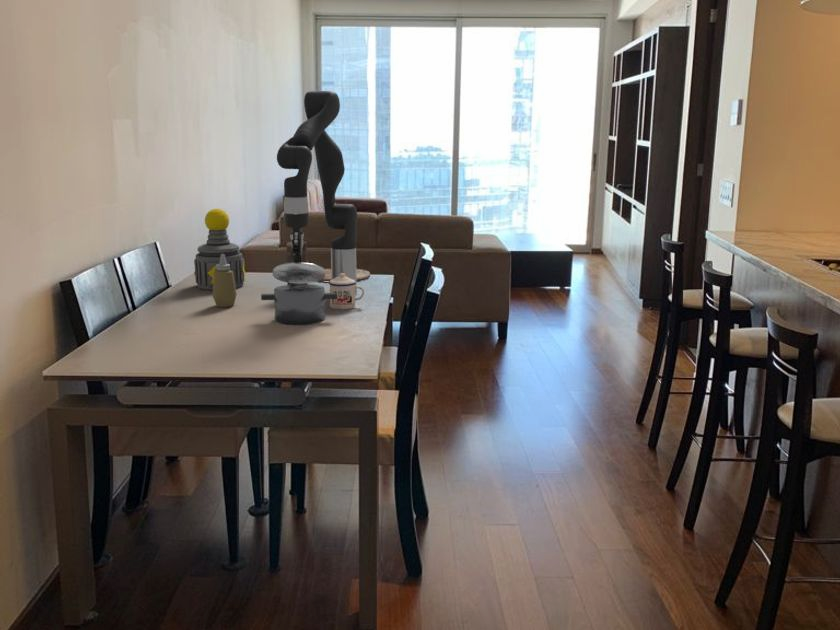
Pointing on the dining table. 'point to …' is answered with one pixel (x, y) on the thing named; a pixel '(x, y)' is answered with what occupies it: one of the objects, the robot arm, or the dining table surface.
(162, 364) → the dining table surface
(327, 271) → the trivet
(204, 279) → the decorative lamp
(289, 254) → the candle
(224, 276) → the squeeze bottle
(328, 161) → the robot arm
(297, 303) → the cooker pot
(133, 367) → the dining table surface
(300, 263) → the lid
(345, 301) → the teacup with lid
